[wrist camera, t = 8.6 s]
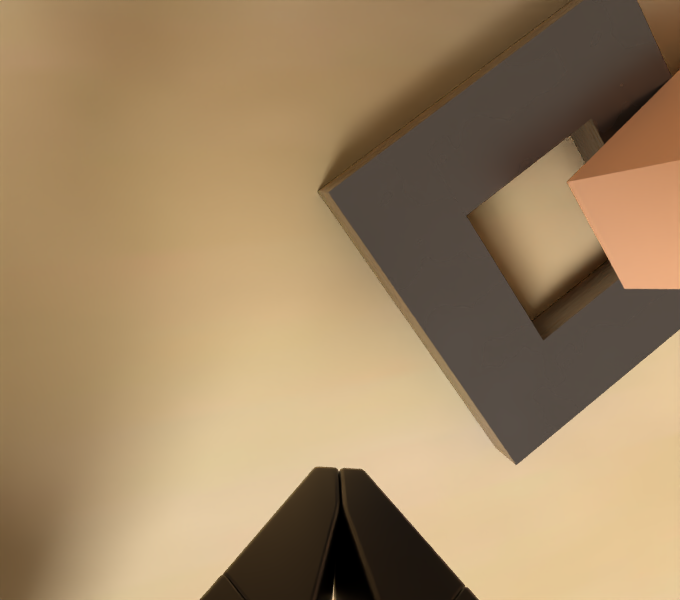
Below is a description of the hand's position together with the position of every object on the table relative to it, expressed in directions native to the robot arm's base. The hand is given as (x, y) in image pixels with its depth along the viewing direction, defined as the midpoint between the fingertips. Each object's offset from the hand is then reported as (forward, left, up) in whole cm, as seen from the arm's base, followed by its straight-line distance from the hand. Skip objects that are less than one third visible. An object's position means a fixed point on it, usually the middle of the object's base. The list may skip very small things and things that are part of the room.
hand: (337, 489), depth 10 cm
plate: (+2, -11, -11) cm, 15 cm away
